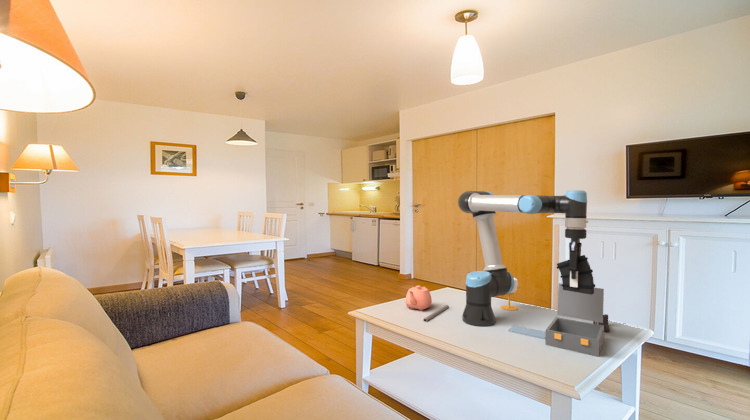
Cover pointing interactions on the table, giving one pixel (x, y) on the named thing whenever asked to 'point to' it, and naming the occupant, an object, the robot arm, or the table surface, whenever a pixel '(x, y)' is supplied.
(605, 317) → the bracket
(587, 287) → the magazine
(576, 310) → the lid
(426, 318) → the metal rod
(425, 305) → the pink rounded piece
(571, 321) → the case
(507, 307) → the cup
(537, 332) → the mat
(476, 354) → the table surface
